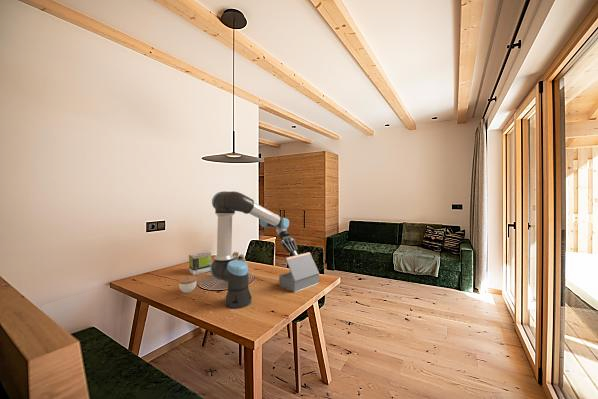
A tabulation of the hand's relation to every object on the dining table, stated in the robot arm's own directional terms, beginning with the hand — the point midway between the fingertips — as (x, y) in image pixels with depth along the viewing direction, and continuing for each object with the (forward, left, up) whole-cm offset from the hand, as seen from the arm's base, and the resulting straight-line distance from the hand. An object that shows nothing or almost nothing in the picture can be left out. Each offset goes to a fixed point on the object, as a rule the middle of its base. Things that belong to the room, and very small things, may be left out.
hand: (298, 259), depth 174 cm
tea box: (-40, +74, -17) cm, 86 cm away
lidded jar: (-61, +40, -17) cm, 75 cm away
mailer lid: (-1, -5, -3) cm, 6 cm away
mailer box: (-1, -2, -17) cm, 17 cm away
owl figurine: (-20, +50, -17) cm, 57 cm away
